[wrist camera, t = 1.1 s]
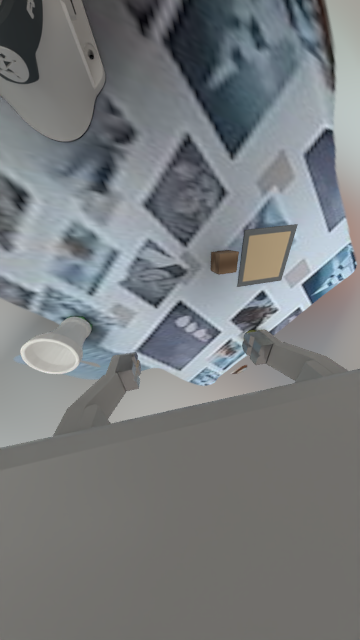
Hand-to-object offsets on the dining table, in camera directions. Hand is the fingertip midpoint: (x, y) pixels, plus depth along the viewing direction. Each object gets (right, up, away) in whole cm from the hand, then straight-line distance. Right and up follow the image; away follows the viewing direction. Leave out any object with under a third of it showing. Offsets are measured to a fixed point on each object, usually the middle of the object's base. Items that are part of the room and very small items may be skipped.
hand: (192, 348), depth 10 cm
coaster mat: (+26, +22, +32) cm, 47 cm away
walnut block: (+11, +20, +31) cm, 38 cm away
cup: (-33, +1, +33) cm, 47 cm away
